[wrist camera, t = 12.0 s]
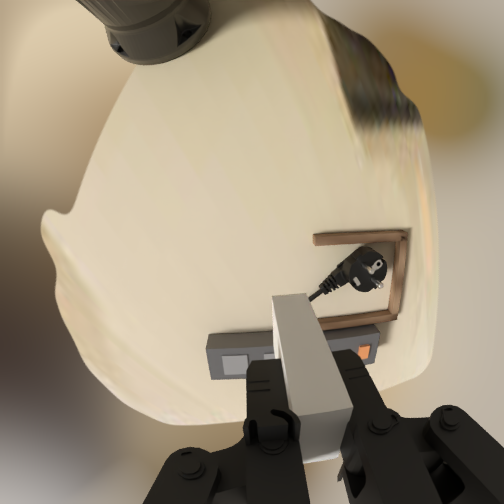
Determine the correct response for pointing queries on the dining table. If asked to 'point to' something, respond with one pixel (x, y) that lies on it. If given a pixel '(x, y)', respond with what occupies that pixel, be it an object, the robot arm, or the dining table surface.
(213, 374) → the power strip
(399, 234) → the bay
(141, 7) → the robot arm
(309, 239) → the dining table surface
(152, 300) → the dining table surface
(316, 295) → the power plug
